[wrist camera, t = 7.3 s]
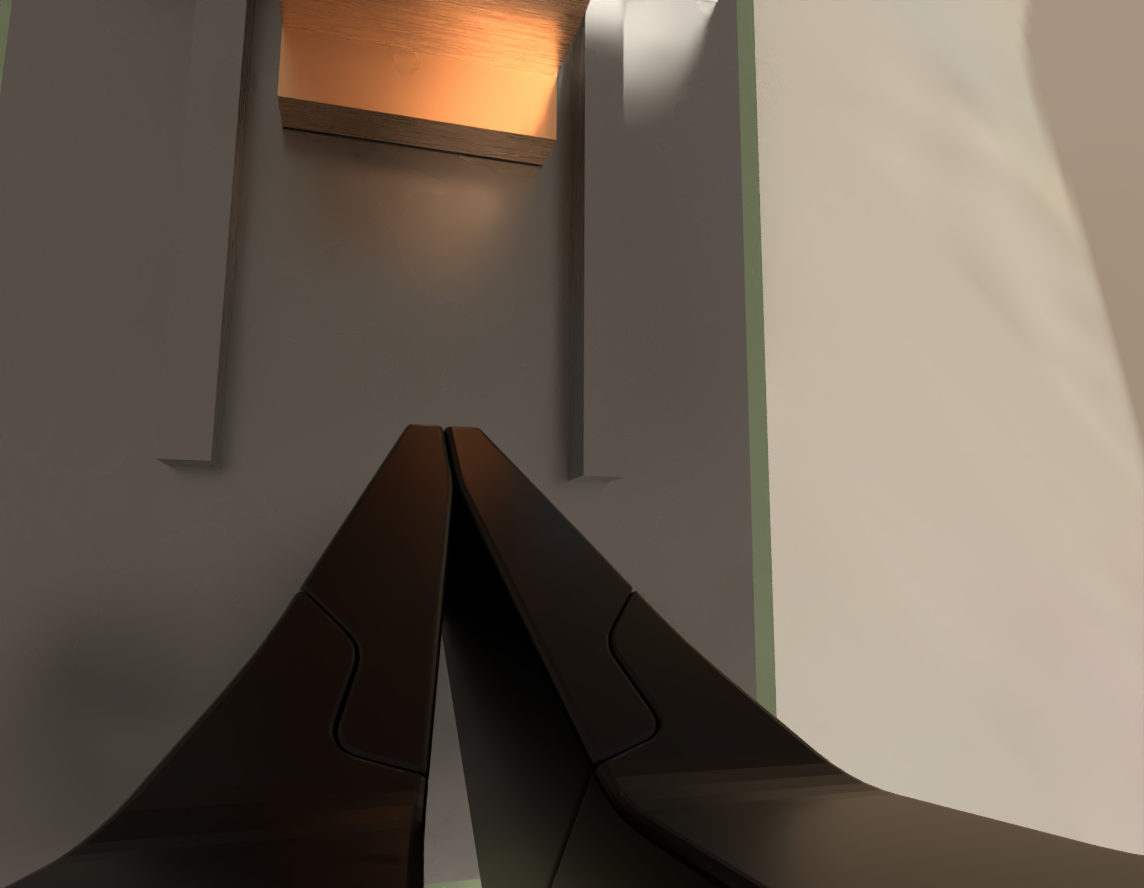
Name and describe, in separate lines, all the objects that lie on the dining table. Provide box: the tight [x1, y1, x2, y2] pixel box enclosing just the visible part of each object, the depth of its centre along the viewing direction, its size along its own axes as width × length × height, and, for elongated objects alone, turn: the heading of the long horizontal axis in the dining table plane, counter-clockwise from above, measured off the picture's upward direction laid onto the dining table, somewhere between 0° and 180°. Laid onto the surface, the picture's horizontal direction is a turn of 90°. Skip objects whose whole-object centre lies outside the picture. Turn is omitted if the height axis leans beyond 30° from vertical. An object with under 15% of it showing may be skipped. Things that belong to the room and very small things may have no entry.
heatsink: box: [0, 0, 777, 888], centre depth 14 cm, size 25×16×5 cm, turn 179°
